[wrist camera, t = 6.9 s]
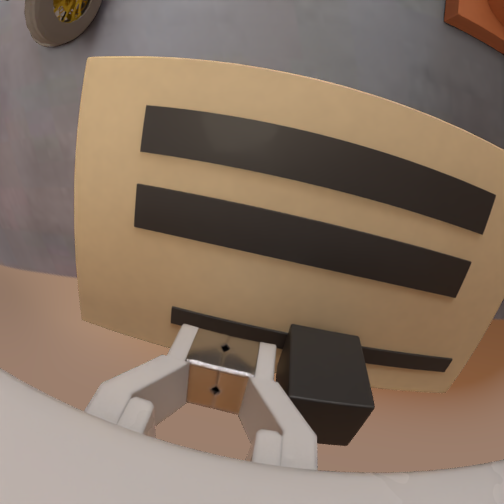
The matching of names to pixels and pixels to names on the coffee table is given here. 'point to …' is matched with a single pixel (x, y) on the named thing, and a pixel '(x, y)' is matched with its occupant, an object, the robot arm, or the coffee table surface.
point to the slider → (326, 382)
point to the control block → (478, 20)
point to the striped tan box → (284, 214)
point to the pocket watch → (58, 19)
